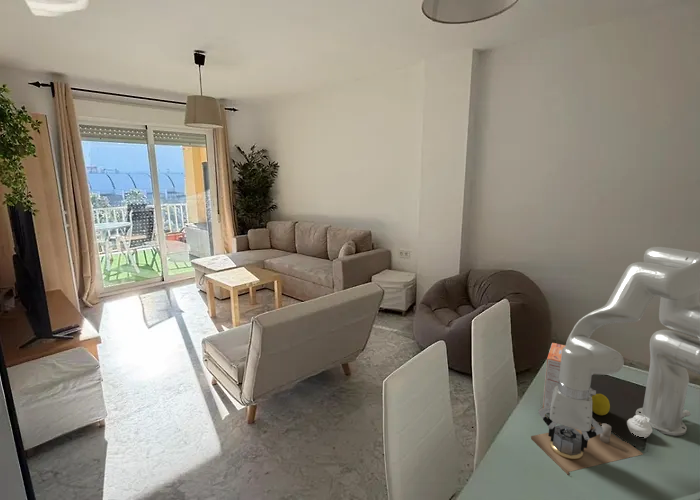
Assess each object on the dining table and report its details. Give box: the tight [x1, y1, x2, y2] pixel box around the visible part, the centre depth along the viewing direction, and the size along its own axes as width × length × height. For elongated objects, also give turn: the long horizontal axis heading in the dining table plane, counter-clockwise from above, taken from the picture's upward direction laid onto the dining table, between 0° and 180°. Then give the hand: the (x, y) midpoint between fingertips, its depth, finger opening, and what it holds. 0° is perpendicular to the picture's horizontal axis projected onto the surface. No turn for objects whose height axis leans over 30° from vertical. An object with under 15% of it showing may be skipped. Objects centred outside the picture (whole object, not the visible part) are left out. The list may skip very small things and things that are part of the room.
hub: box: [550, 430, 583, 460], centre depth 103 cm, size 8×8×6 cm
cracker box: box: [542, 342, 566, 414], centre depth 123 cm, size 14×6×21 cm, turn 144°
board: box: [530, 421, 644, 476], centre depth 105 cm, size 26×14×6 cm, turn 103°
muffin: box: [626, 414, 653, 439], centre depth 109 cm, size 6×6×7 cm
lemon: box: [591, 393, 611, 416], centre depth 119 cm, size 6×6×8 cm
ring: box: [553, 424, 582, 455], centre depth 103 cm, size 7×7×4 cm
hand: (566, 443), depth 103 cm, fingers closed on ring, 6 cm apart
